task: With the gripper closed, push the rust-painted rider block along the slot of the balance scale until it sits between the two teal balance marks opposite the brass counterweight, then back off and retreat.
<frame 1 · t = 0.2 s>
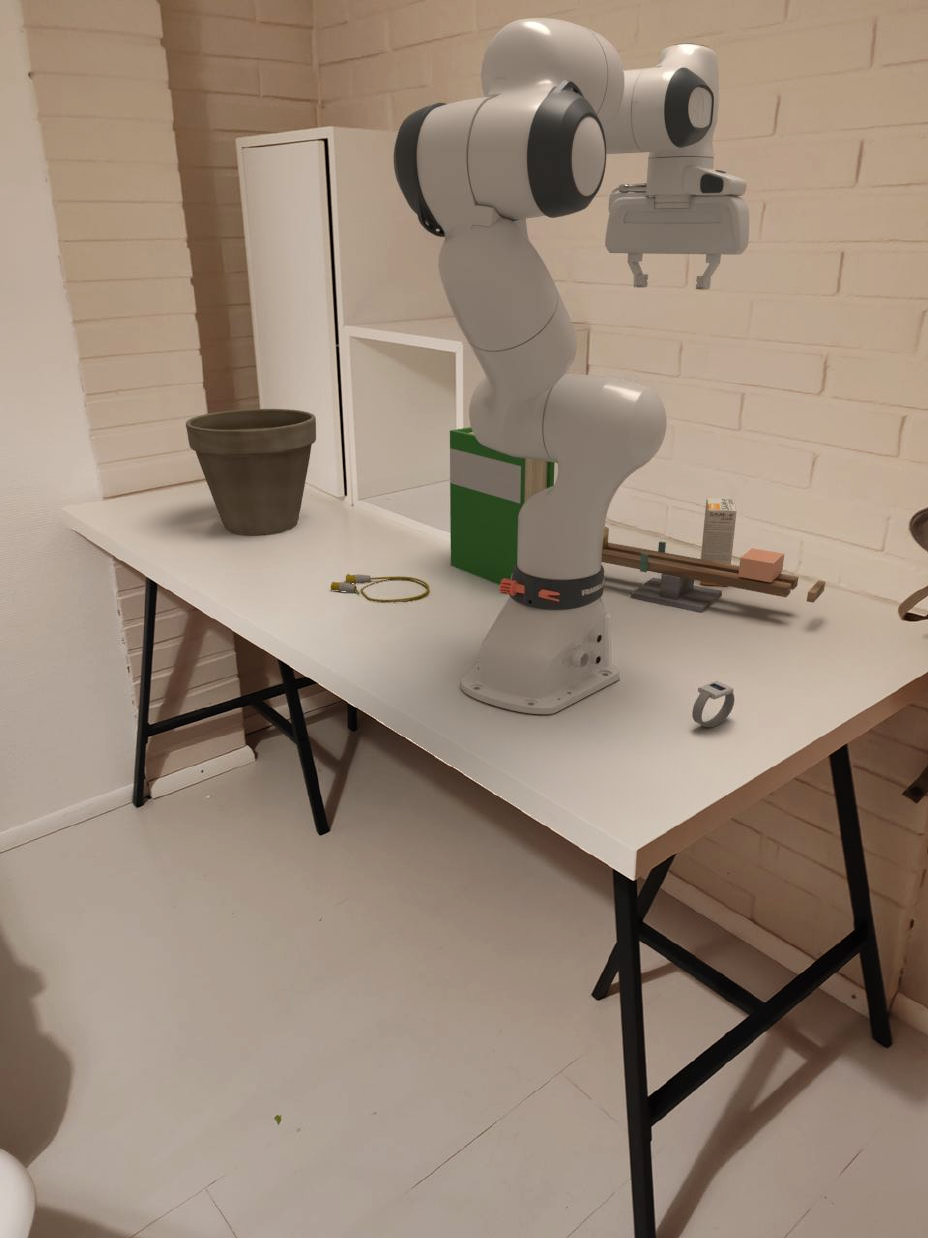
hand: (671, 288, 138), 47 cm above the table, tool pointing down, fingers open, 8 cm apart
hardback book: (499, 574, 167), on the table
extension cord: (384, 593, 160), on the table
rider: (760, 569, 147), point 7 cm above the table, slide at -13.0 cm
plant pot: (260, 526, 194), on the table
wristwatch: (711, 726, 116), on the table
supplement box: (713, 579, 164), on the table
balance scale: (676, 596, 156), on the table
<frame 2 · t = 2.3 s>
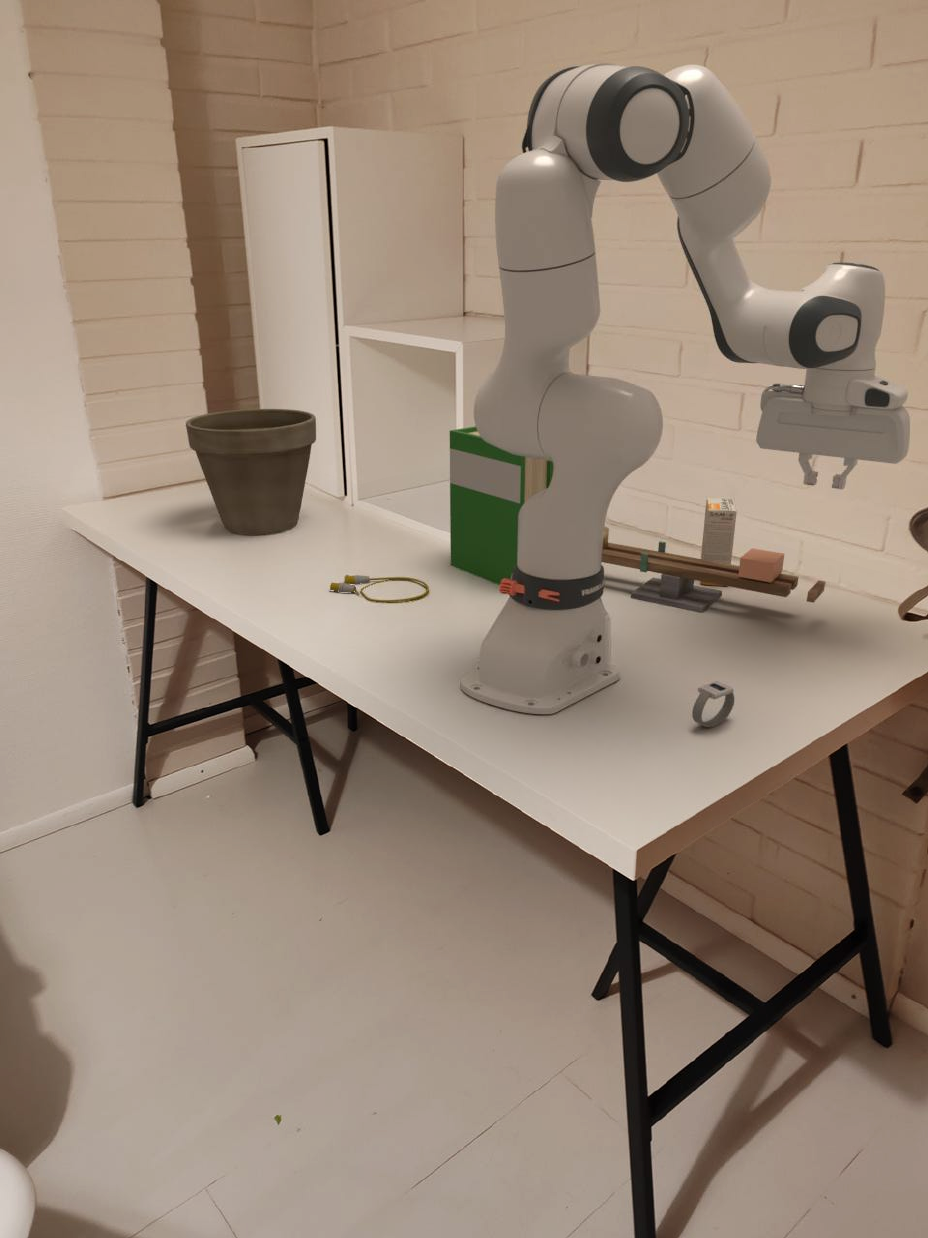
hand: (823, 486, 138), 21 cm above the table, tool pointing down, fingers open, 3 cm apart
nothing on the table moved.
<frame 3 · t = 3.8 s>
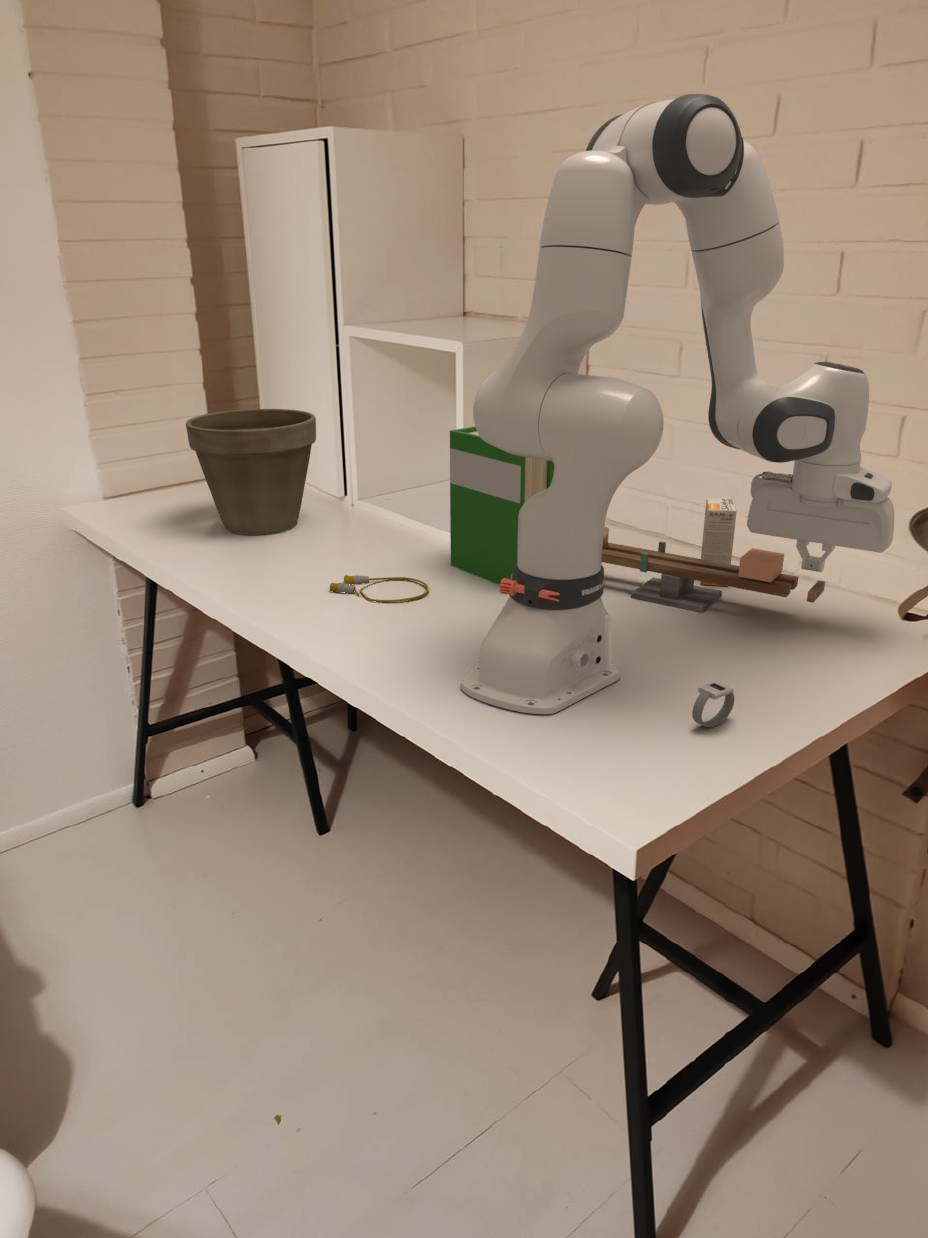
hand: (812, 569, 143), 8 cm above the table, tool pointing down, fingers closed
nothing on the table moved.
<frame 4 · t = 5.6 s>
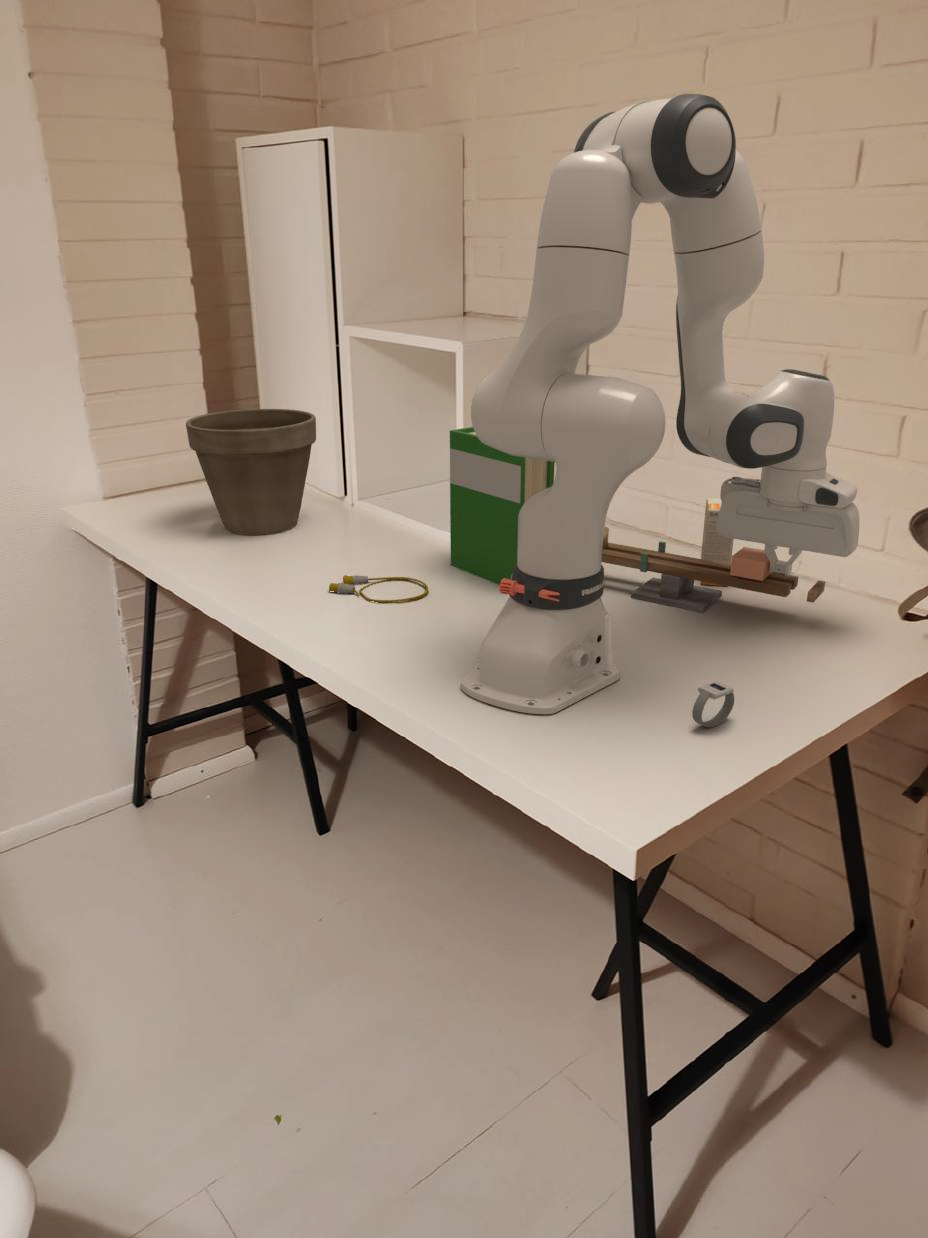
hand: (780, 573, 145), 7 cm above the table, tool pointing down, fingers closed
rider: (752, 568, 147), point 7 cm above the table, slide at -11.7 cm, touching gripper
everything else where it was.
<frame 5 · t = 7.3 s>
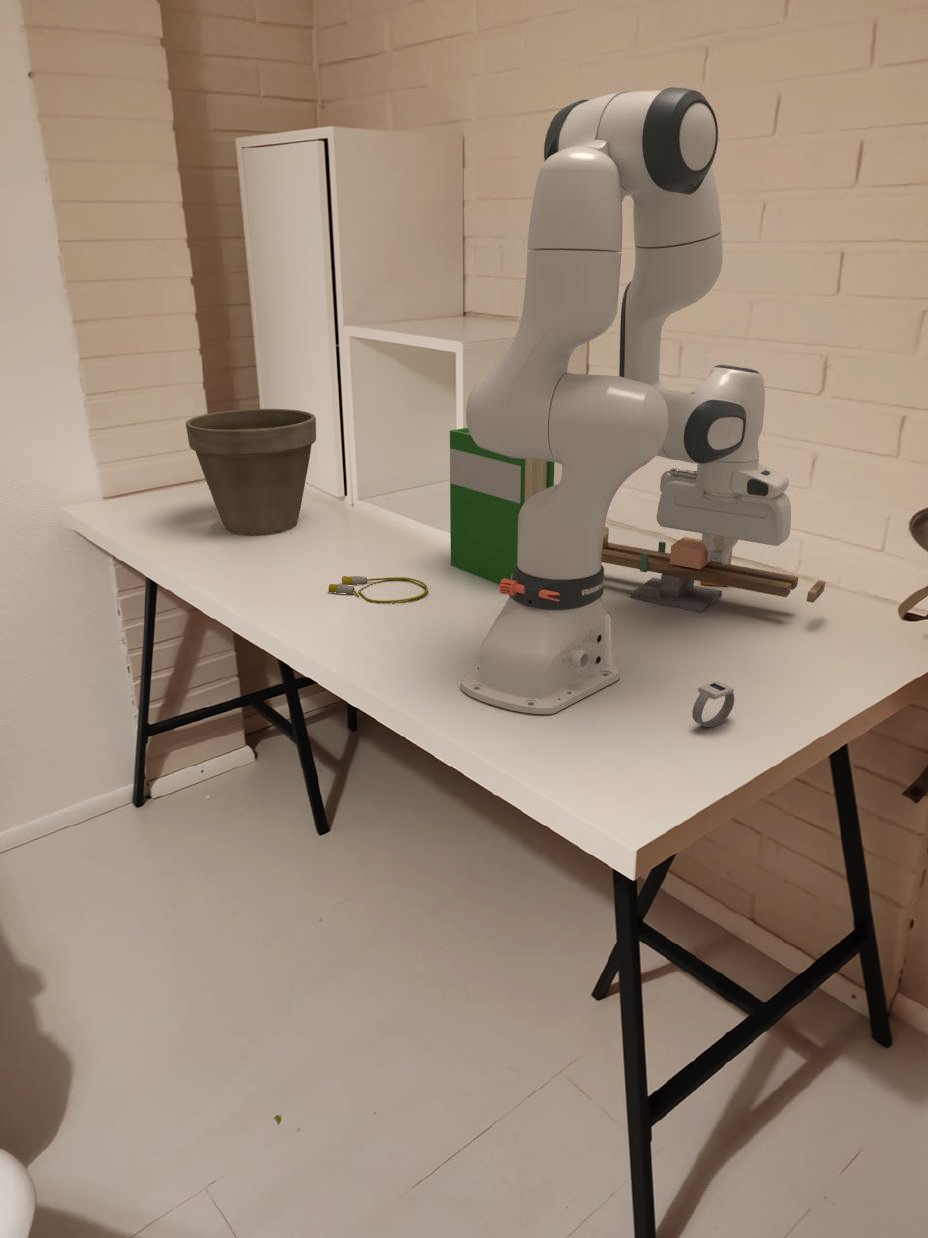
hand: (717, 562, 150), 7 cm above the table, tool pointing down, fingers closed
rider: (691, 557, 152), point 7 cm above the table, slide at -1.9 cm, touching gripper
everything else where it was.
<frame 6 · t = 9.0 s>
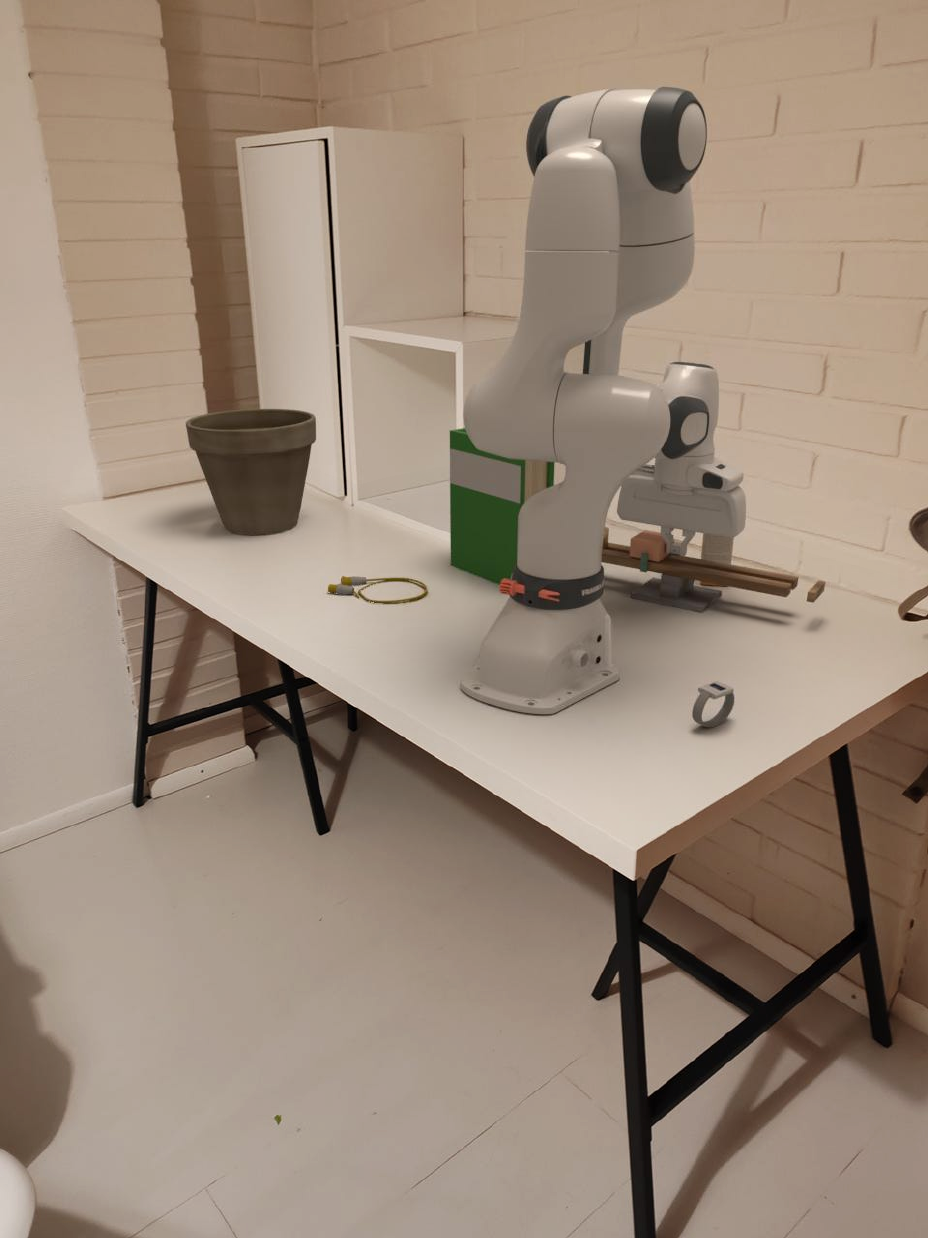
hand: (676, 554, 154), 7 cm above the table, tool pointing down, fingers closed
rider: (651, 550, 156), point 7 cm above the table, slide at 4.9 cm, touching gripper
everything else where it was.
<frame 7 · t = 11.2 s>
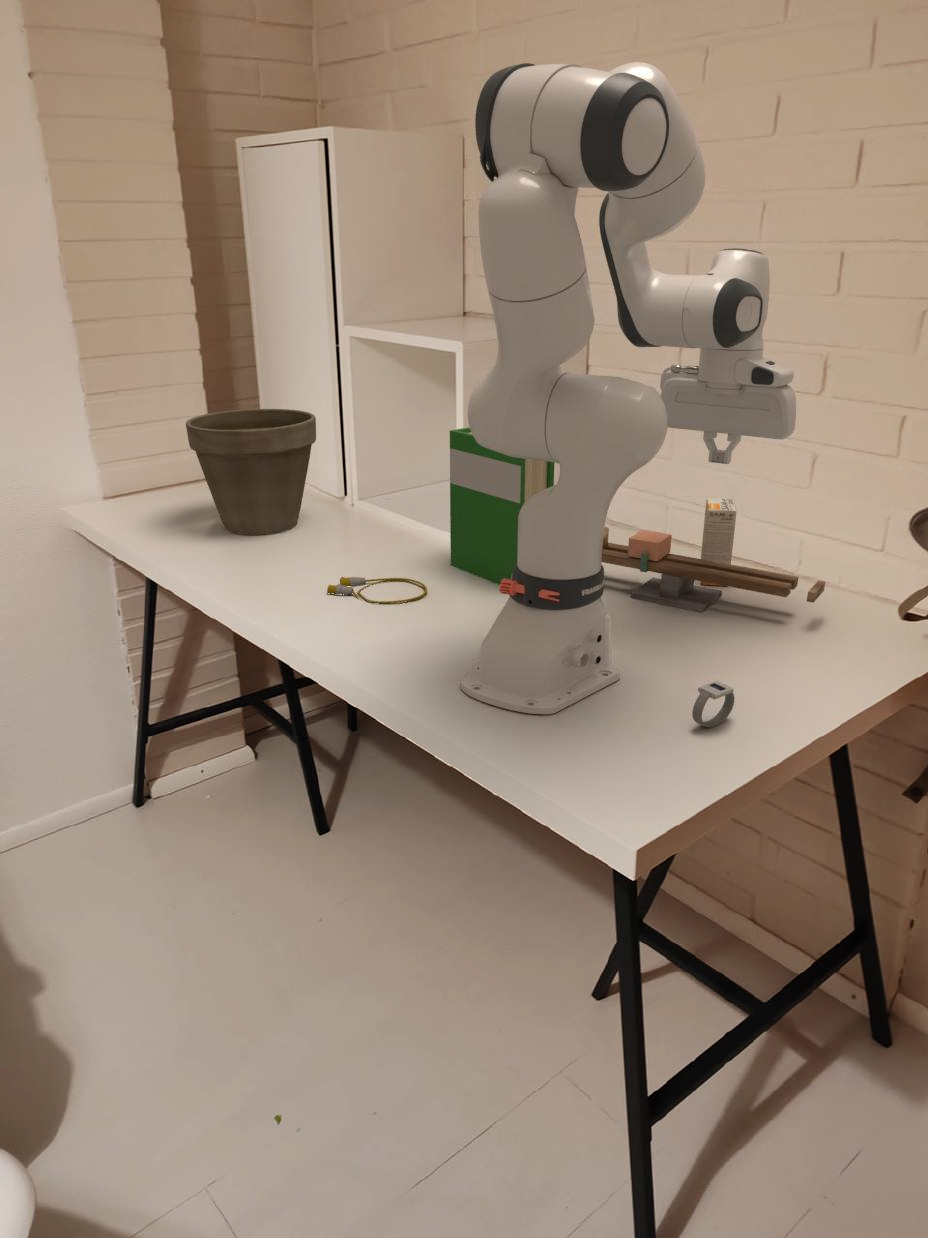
hand: (719, 462, 145), 23 cm above the table, tool pointing down, fingers closed
rider: (649, 549, 156), point 7 cm above the table, slide at 5.2 cm
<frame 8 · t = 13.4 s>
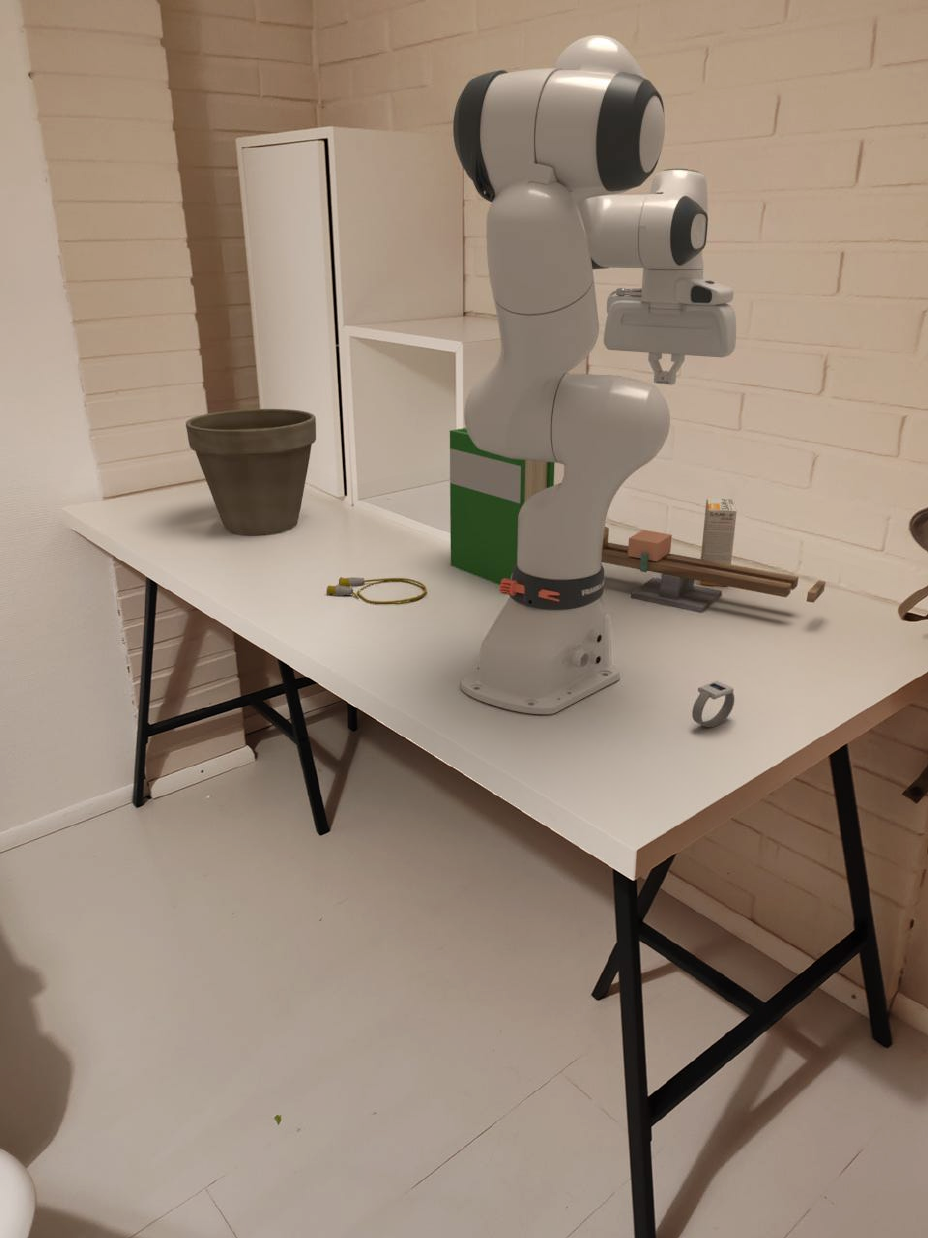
hand: (664, 383, 149), 33 cm above the table, tool pointing down, fingers closed
at the end: rider slide at 5.2 cm; the gripper is holding nothing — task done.
